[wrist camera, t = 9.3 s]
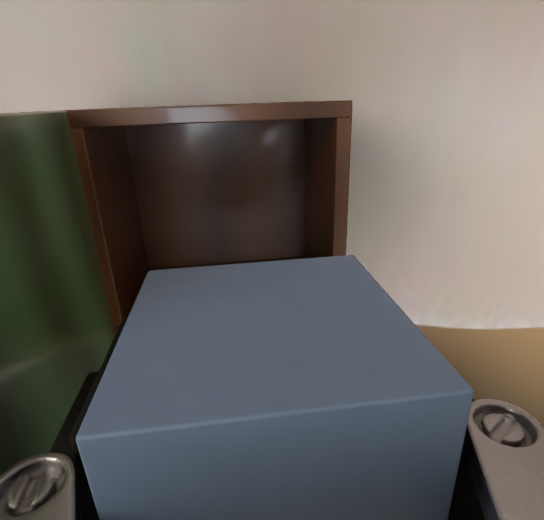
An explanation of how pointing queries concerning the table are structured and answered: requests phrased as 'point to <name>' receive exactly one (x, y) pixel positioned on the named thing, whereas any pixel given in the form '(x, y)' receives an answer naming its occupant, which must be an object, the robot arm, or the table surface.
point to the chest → (211, 186)
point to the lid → (44, 284)
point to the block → (273, 401)
